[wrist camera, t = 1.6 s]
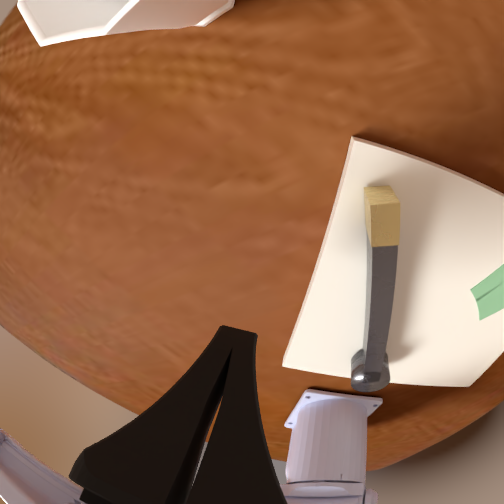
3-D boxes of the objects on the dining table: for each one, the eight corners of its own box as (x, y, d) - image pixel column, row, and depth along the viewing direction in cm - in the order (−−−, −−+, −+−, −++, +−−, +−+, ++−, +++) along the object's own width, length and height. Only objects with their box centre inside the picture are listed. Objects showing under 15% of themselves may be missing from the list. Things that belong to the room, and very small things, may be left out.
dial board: (466, 378, 21) (469, 387, 20) (283, 356, 22) (282, 367, 21) (570, 233, 11) (577, 241, 10) (351, 136, 13) (354, 140, 12)
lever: (385, 368, 19) (387, 390, 18) (350, 371, 20) (350, 393, 19) (404, 184, 12) (417, 201, 10) (347, 188, 13) (352, 206, 11)
